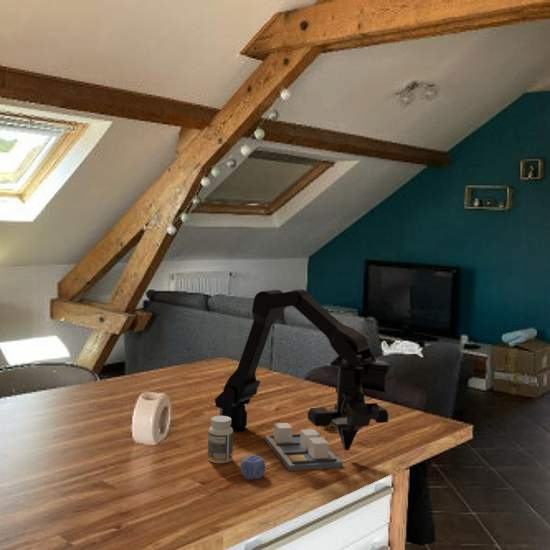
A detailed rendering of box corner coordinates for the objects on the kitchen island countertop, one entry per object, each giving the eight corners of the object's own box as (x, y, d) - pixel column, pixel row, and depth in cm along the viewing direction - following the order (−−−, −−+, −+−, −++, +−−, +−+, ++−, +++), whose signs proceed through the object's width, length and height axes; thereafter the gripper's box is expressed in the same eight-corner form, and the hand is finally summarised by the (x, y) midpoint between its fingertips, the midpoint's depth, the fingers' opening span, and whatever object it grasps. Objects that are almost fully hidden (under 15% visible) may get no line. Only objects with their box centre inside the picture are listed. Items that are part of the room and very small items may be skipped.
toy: (351, 411, 198) (342, 423, 183) (339, 423, 199) (329, 436, 184) (338, 398, 199) (328, 409, 184) (326, 411, 200) (315, 422, 185)
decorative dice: (240, 476, 151) (240, 459, 150) (250, 471, 154) (251, 454, 154) (254, 481, 148) (255, 463, 148) (265, 475, 152) (265, 458, 151)
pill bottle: (219, 453, 164) (221, 413, 163) (237, 459, 160) (238, 418, 159) (202, 459, 160) (204, 418, 159) (220, 466, 156) (221, 424, 155)
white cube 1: (313, 459, 159) (314, 443, 159) (308, 453, 163) (308, 438, 163) (327, 458, 160) (328, 442, 160) (321, 452, 164) (322, 437, 164)
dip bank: (289, 470, 155) (289, 464, 155) (264, 439, 175) (264, 434, 175) (342, 466, 159) (342, 460, 159) (311, 436, 179) (312, 431, 179)
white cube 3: (278, 443, 169) (279, 428, 169) (273, 437, 173) (274, 423, 173) (291, 442, 170) (292, 427, 170) (287, 436, 174) (287, 422, 174)
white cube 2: (305, 450, 165) (306, 435, 165) (299, 444, 169) (300, 430, 168) (318, 449, 166) (319, 434, 166) (313, 443, 170) (314, 429, 169)
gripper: (325, 397, 152) (321, 465, 153) (401, 394, 157) (397, 459, 159) (308, 384, 162) (305, 448, 164) (380, 381, 168) (376, 443, 169)
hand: (346, 450), depth 164 cm, fingers closed
